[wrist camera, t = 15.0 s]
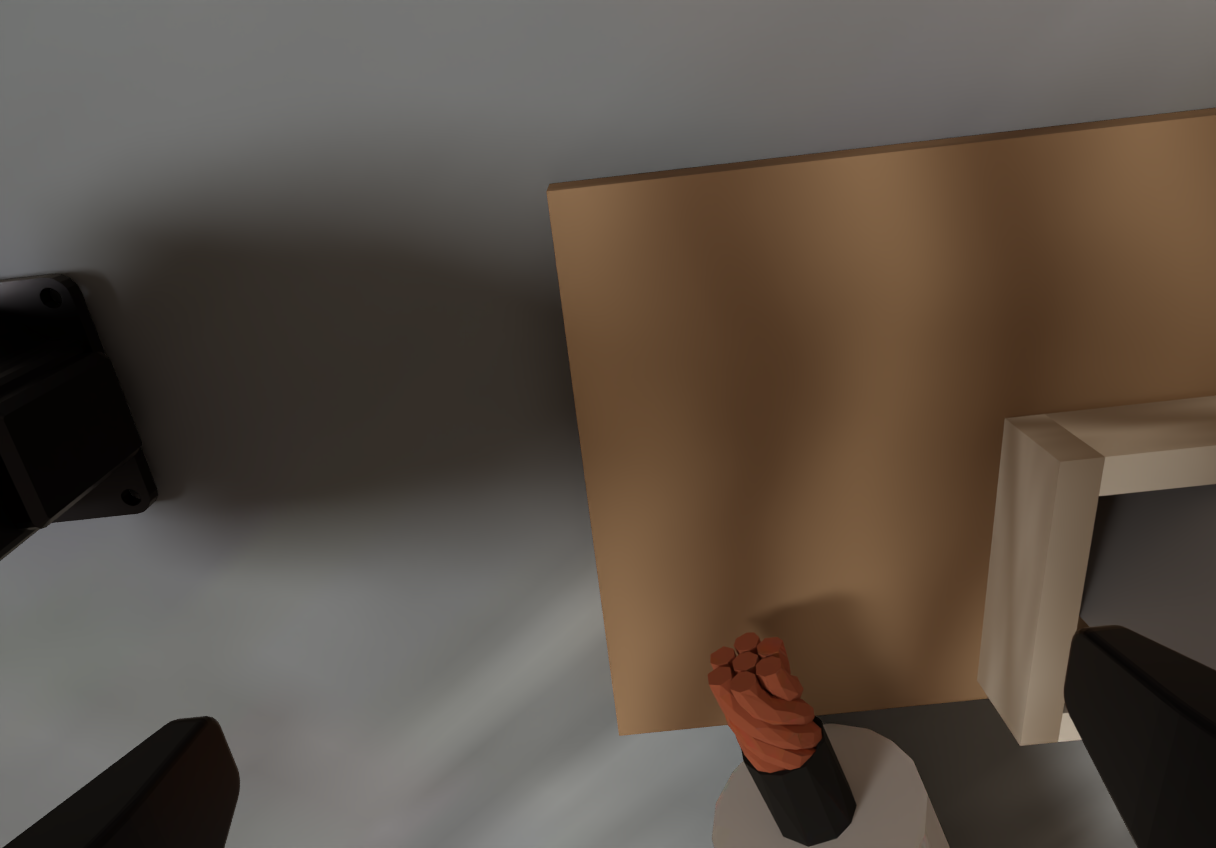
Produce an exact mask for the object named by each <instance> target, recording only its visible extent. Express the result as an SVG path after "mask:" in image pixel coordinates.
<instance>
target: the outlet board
mask: <svg viewBox="0 0 1216 848" xmlns="http://www.w3.org/2000/svg"><path fill="white" fill-rule="evenodd" d="M547 199H548V206H549V214H550V221H551V229H552V236H553V244H554V251H555V259H556V266H557V274H558V281H559V289H560V296H561V303H562V311H563V318H564V326H565V333H566V341H567V348H568V356H569V363H570V371H571V378H572V386H573V393H574V401H575V408H576V416H577V423H578V431H579V438H580V446H581V453H582V461H583V468H584V476H585V483H586V491H587V498H588V505H589V513H590V520H591V528H592V535H593V543H594V550H595V558H596V565H597V573H598V580H599V588H600V595H601V603H602V610H603V618H604V625H605V633H606V640H607V648H608V655H609V663H610V670H611V678H612V685H613V693H614V700H615V707H616V715H617V722H618V730H619V736H621V735H631V734H641V733H651V732H661V731H671V730H680V729H690V728H700V727H710V726H720V725H728V724H727V721H726V718H725V714H724V713H723V711H722V709H721V707H720V706H719V704H718V702H717V700H716V698H715V696H714V694H713V693H712V690H711V688H710V686H709V682H708V674H709V673H710V672H712V671H713V667H712V665H711V663H710V658H711V654H712V653H714V652H715V651H717V650H718V649H720V648H722V647H723V646H725V647H729V648H733V649H734V651H735V654H736V656H738V653H737V651H736V650H735V648H734V646H733V645H734V643H735V640H736V638H738V637H740V636H742V635H743V634H745V633H751V632H754V633H755V634H756V635H757V636H758V637H759V638H760V641H761V642H762V641H763V640H764V639H765V638H771V637H778V638H780V639H781V640H783V643H784V647H785V650H786V653H787V657H788V660H789V664H790V671H791V674H790V675H793V676H797V677H798V679H799V681H800V683H801V685H802V687H803V692H802V695H801V698H800V699H803V700H804V701H805V702H806V703H808V704H809V705H810V706H811V707H813V709H814V715H815V716H819V715H829V714H839V713H849V712H858V711H868V710H878V709H888V708H898V707H908V706H918V705H928V704H938V703H947V702H957V701H967V700H977V699H987V698H989V699H990V701H991V702H992V704H993V705H994V707H995V708H996V710H997V711H998V713H999V714H1000V716H1001V717H1002V719H1003V720H1004V722H1005V723H1006V725H1007V726H1008V728H1009V729H1010V731H1011V732H1012V734H1013V735H1014V737H1015V739H1016V740H1017V742H1018V743H1019V745H1020V746H1023V745H1033V744H1043V743H1053V742H1063V741H1073V740H1082V739H1081V737H1080V735H1079V733H1078V731H1077V729H1076V727H1075V725H1074V724H1073V722H1072V720H1071V718H1070V716H1069V713H1068V711H1067V708H1066V705H1065V701H1064V682H1065V676H1066V670H1067V664H1068V658H1069V652H1070V646H1071V641H1072V637H1073V635H1074V634H1075V632H1076V631H1077V630H1079V629H1081V628H1085V627H1089V626H1088V625H1087V623H1086V622H1085V621H1084V620H1083V619H1082V618H1081V617H1080V616H1079V612H1080V606H1081V600H1082V594H1083V588H1084V582H1085V576H1086V570H1087V564H1088V558H1089V552H1090V546H1091V540H1092V534H1093V528H1094V522H1095V516H1096V510H1097V504H1098V498H1099V496H1106V495H1115V494H1125V493H1134V492H1144V491H1153V490H1163V489H1172V488H1182V487H1191V486H1201V485H1210V484H1216V108H1209V109H1200V110H1191V111H1183V112H1174V113H1165V114H1156V115H1148V116H1139V117H1130V118H1121V119H1113V120H1104V121H1095V122H1086V123H1078V124H1069V125H1060V126H1051V127H1043V128H1034V129H1025V130H1016V131H1008V132H999V133H990V134H982V135H973V136H964V137H955V138H947V139H938V140H929V141H920V142H912V143H903V144H894V145H885V146H877V147H868V148H859V149H850V150H842V151H833V152H824V153H815V154H807V155H798V156H789V157H780V158H772V159H763V160H754V161H746V162H737V163H728V164H719V165H711V166H702V167H693V168H684V169H676V170H667V171H658V172H649V173H641V174H632V175H623V176H614V177H606V178H597V179H588V180H579V181H571V182H562V183H553V184H549V186H548V189H547Z"/></svg>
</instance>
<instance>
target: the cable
mask: <svg viewBox="0 0 1216 848" xmlns="http://www.w3.org/2000/svg"><path fill="white" fill-rule="evenodd" d="M733 646H734V648H735V650H736V651H737V653H738V656H736V654H735V651H734V649H733V648H729V647H725V646H723V647H722V648H720V649H718V650H717V651H715V652H714V653H712V654H711V658H710V663H711V665H712V667H713V671H712V672H710V673H709V674H708V682H709V686H710V688H711V690H712V693H713V694H714V696H715V698H716V700H717V702H718V704H719V706H720V707H721V709H722V711H723V713H724V714H725V718H726V721H727V724H728V726H729V727H730V728H731V729H732V731H733V732H734V733H735V735H736V738H737V741H738V743H739V745H740V747H741V750H742V755H743V760H744V761H743V762H742V763H741V764H740V765H739V766H738V767H737V768H736V769H735V770H734V771H733V773H732V774H731V776H730V778H729V780H728V782H727V784H726V786H725V787H724V789H723V791H722V793H721V795H720V797H719V799H718V800H717V802H716V808H715V816H714V825H713V834H712V841H713V844H714V847H715V848H950V847H949V845H948V842H947V840H946V837H945V835H944V833H943V830H942V828H941V825H940V823H939V821H938V818H937V816H936V813H935V811H934V809H933V806H932V804H931V801H930V799H929V797H928V794H927V792H926V789H925V787H924V785H923V782H922V780H921V778H920V775H919V773H918V771H917V768H916V766H915V764H914V762H913V760H912V759H911V758H910V757H909V756H908V755H907V754H906V753H905V752H904V751H902V750H901V749H900V748H899V747H898V746H897V745H896V744H895V743H894V742H893V741H892V740H890V739H888V738H886V737H884V736H882V735H880V734H878V733H876V732H874V731H872V730H870V729H866V728H860V727H853V726H847V725H840V724H834V723H830V724H822V722H821V720H820V719H818V718H817V717H816V716H815V715H814V709H813V707H811V706H810V705H809V704H808V703H806V702H805V701H804V700H803V699H800V698H801V695H802V692H803V687H802V685H801V683H800V681H799V679H798V677H797V676H793V675H790V674H791V671H790V664H789V660H788V657H787V653H786V650H785V647H784V643H783V640H781V639H780V638H778V637H771V638H765V639H764V640H763V641H762V642H761V641H760V638H759V637H758V636H757V635H756V634H755V633H754V632H751V633H745V634H743V635H742V636H740V637H738V638H736V640H735V643H734V645H733Z"/></svg>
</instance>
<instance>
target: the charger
mask: <svg viewBox="0 0 1216 848" xmlns="http://www.w3.org/2000/svg"><path fill="white" fill-rule="evenodd" d="M1079 616H1080V617H1081V618H1082V619H1083V620H1084V621H1085V622H1086V623H1087V625H1088V626H1089V627H1095V626H1105V625H1120V626H1123V627H1126V628H1128V629H1130V630H1132V631H1134V632H1136V633H1139V634H1141V635H1143V636H1145V637H1147V638H1149V639H1151V640H1153V641H1155V642H1158V643H1160V644H1162V645H1164V646H1166V647H1168V648H1170V649H1172V650H1174V651H1177V652H1179V653H1181V654H1183V655H1185V656H1187V657H1189V658H1191V659H1193V660H1195V661H1198V662H1200V663H1202V664H1204V665H1206V666H1208V667H1210V668H1212V669H1214V670H1216V484H1210V485H1201V486H1191V487H1182V488H1172V489H1163V490H1153V491H1144V492H1134V493H1125V494H1115V495H1106V496H1099V498H1098V504H1097V510H1096V516H1095V522H1094V528H1093V534H1092V540H1091V546H1090V552H1089V558H1088V564H1087V570H1086V576H1085V582H1084V588H1083V594H1082V600H1081V606H1080V612H1079Z"/></svg>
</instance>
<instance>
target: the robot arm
mask: <svg viewBox="0 0 1216 848" xmlns="http://www.w3.org/2000/svg"><path fill="white" fill-rule="evenodd" d="M51 288H53V289H54V290H56V291H58V292H59V294H60V295H61V297H62V304H59V303H58V302H56V301H55V300H54V299H53V298H52V296H51V292H50V289H51ZM141 445H142V442H141V439H140V436H139V434H138V431H137V429H136V426H135V423H134V421H133V418H132V416H131V413H130V410H129V408H128V405H127V403H126V400H125V397H124V395H123V392H122V389H121V387H120V384H119V382H118V379H117V376H116V374H115V371H114V369H113V366H112V363H111V361H110V359H109V358H108V357H107V356H106V355H105V352H104V350H103V347H102V345H101V342H100V339H99V337H98V334H97V332H96V329H95V326H94V324H93V321H92V319H91V316H90V313H89V311H88V308H87V306H86V303H85V300H84V298H83V295H82V293H81V291H80V289H79V287H78V286H77V284H76V283H75V282H74V281H72V280H71V279H70V278H68V277H66V276H64V275H60V274H49V275H40V276H31V277H22V278H13V279H5V280H0V561H1V560H2V559H3V558H4V557H6V556H7V555H8V554H9V553H11V552H12V551H13V550H14V549H16V548H17V547H18V546H19V545H20V544H22V543H23V542H24V541H25V540H27V539H28V538H29V537H30V536H32V535H33V534H34V533H35V532H37V531H38V530H39V529H42V528H45V527H47V526H48V525H49V524H51V523H55V522H64V521H73V520H83V519H92V518H101V517H111V516H120V515H129V514H138V513H141V512H144V511H145V510H146V509H147V508H148V507H149V506H151V505H152V504H153V503H154V502H155V501H156V499H157V496H158V493H157V488H156V485H155V483H154V480H153V477H152V475H151V472H150V470H149V467H148V464H147V462H146V459H145V456H144V454H143V451H142V449H141ZM129 489H131V490H134V491H136V492H138V494H139V495H140V497H141V499H140V498H136V497H134V496H132V494H131V493H130V491H129ZM1064 701H1065V705H1066V708H1067V711H1068V713H1069V716H1070V718H1071V720H1072V722H1073V724H1074V725H1075V727H1076V729H1077V731H1078V733H1079V735H1080V737H1081V739H1082V741H1083V743H1084V745H1085V747H1086V749H1087V751H1088V753H1089V755H1090V757H1091V759H1092V761H1093V762H1094V764H1095V766H1096V768H1097V770H1098V772H1099V774H1100V776H1101V778H1102V780H1103V782H1104V784H1105V786H1106V788H1107V790H1108V792H1109V794H1110V796H1111V797H1112V799H1113V801H1114V803H1115V805H1116V807H1117V809H1118V811H1119V813H1120V815H1121V817H1122V819H1123V821H1124V823H1125V825H1126V827H1127V829H1128V831H1129V833H1130V834H1131V836H1132V838H1133V840H1134V842H1135V844H1136V845H1137V847H1138V848H1216V670H1214V669H1212V668H1210V667H1208V666H1206V665H1204V664H1202V663H1200V662H1198V661H1195V660H1193V659H1191V658H1189V657H1187V656H1185V655H1183V654H1181V653H1179V652H1177V651H1174V650H1172V649H1170V648H1168V647H1166V646H1164V645H1162V644H1160V643H1158V642H1155V641H1153V640H1151V639H1149V638H1147V637H1145V636H1143V635H1141V634H1139V633H1136V632H1134V631H1132V630H1130V629H1128V628H1126V627H1123V626H1120V625H1105V626H1095V627H1085V628H1081V629H1079V630H1077V631H1076V632H1075V634H1074V635H1073V637H1072V641H1071V646H1070V652H1069V658H1068V664H1067V670H1066V676H1065V682H1064ZM239 790H240V777H239V772H238V768H237V766H236V763H235V761H234V758H233V756H232V753H231V751H230V749H229V746H228V744H227V741H226V739H225V736H224V734H223V731H222V729H221V726H220V724H219V723H218V721H216V720H215V719H214V718H213V717H208V716H203V717H193V718H183V719H177V720H173V721H171V722H169V723H167V724H166V725H165V726H163V727H162V728H161V729H159V730H158V731H157V732H155V733H154V734H153V735H151V736H150V737H149V738H147V739H146V740H145V741H143V742H142V743H141V744H139V745H138V746H137V747H135V748H134V749H133V750H131V751H130V752H129V753H127V754H126V755H125V756H123V757H122V758H121V759H119V760H118V761H117V762H116V763H114V764H113V765H112V766H110V767H109V768H108V769H106V770H105V771H104V772H102V773H101V774H100V775H98V776H97V777H96V778H94V779H93V780H92V781H90V782H89V783H88V784H86V785H85V786H84V787H82V788H81V789H80V790H78V791H77V792H76V793H74V794H73V795H72V796H70V797H69V798H68V799H66V800H65V801H64V802H62V803H61V804H60V805H59V806H57V807H56V808H55V809H53V810H52V811H51V812H49V813H48V814H47V815H45V816H44V817H43V818H41V819H40V820H39V821H37V822H36V823H35V824H33V825H32V826H31V827H29V828H28V829H27V830H25V831H24V832H23V833H21V834H20V835H19V836H17V837H16V838H15V839H13V840H12V841H11V842H9V843H8V844H7V845H5V846H4V847H3V848H224V847H225V844H226V840H227V836H228V833H229V829H230V826H231V822H232V818H233V815H234V811H235V807H236V804H237V800H238V796H239Z"/></svg>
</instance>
